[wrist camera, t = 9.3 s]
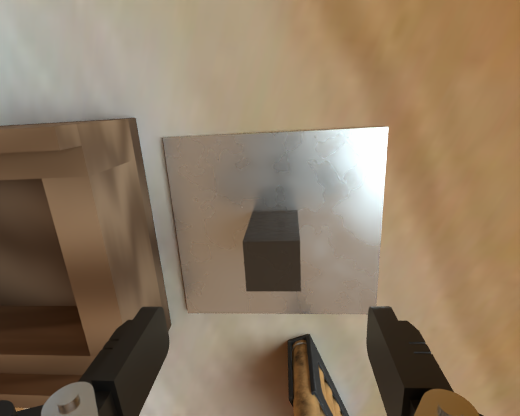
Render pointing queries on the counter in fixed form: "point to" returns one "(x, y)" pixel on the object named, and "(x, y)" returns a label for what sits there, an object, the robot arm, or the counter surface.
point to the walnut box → (70, 250)
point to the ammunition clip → (311, 381)
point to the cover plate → (273, 184)
